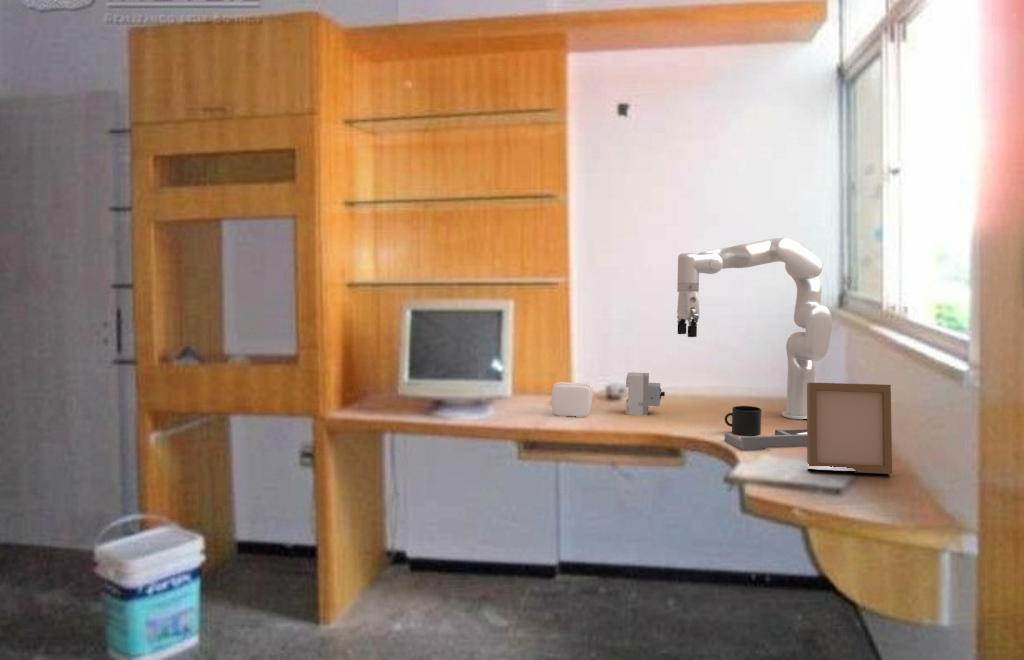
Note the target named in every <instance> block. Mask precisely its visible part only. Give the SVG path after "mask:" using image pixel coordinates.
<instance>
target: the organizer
mask: <svg viewBox="0 0 1024 660" xmlns="http://www.w3.org/2000/svg"><path fill="white" fill-rule="evenodd" d="M804 432H807V427H805V428H803V427H802V428H781V429H774V434H773V435H758V436H740V437H738V435H735V434H733V433H732V432H725V433H724V441H725V442H727V443H728V444H730V445H732V446H734V447H736V448H737V447H738V448H737V449H739V448H740V449H739V450H741V451H743V450H744V451H759V450H760V451H762V449H769V448H771V449H773V448H795V447H807V434H798V433H804ZM796 434H798V435H796Z"/></svg>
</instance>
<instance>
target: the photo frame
mask: <svg viewBox="0 0 1024 660" xmlns="http://www.w3.org/2000/svg"><path fill="white" fill-rule="evenodd" d="M891 386H892V385H891V384H876V383H875V384H874V383H871V384H870V383H843V382H842V383H841V382H840V383H838V382H837V383H836V382H814V383H808V384H807V420H806V428H807V446H806V450H807V451H806V456H807V457H806V458H807V459H806V460H807V461H806V464H807V463H808V464H809V466H830V467H832V466H833V467H847V468H853V469H855V470H856V471H857V472H856V473H863V474H865V473H866V474H885V475H887V474H888V475H890V474H891V475H893V447H892V446H893V444H892V440H893V439H892V437H893V436H892V435H893V434H892V394H891V393H892V387H891Z"/></svg>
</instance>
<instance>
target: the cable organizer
mask: <svg viewBox="0 0 1024 660" xmlns="http://www.w3.org/2000/svg"><path fill="white" fill-rule="evenodd" d="M592 409H593V386H592V385H591V384H590V383H588V382H565V381H562V382H561V381H558V382H555V383H554V384H553V386H552V389H551V413H552V414H553V415H555V416H558V417H559V416H567V417H575V416H576V417H575V418H581V417H584V418H585V417H587V416H589V415H590V413H591V410H592Z"/></svg>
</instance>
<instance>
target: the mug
mask: <svg viewBox="0 0 1024 660" xmlns="http://www.w3.org/2000/svg"><path fill="white" fill-rule="evenodd" d="M731 409H732V412H728V413H727V414H726V415H725V416H724V422H725V424H726V425H727V426H729V427H731V434H733V435H735V436H740V437H748V436H761V435H762V434H761V432H762V409H761V407H757V406H752V405H736V406H732V408H731ZM729 417H731V423H730V422H729V421H728V418H729Z"/></svg>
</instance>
